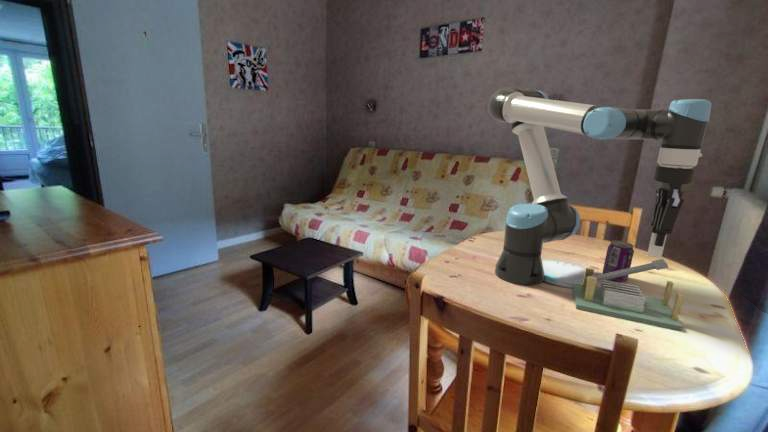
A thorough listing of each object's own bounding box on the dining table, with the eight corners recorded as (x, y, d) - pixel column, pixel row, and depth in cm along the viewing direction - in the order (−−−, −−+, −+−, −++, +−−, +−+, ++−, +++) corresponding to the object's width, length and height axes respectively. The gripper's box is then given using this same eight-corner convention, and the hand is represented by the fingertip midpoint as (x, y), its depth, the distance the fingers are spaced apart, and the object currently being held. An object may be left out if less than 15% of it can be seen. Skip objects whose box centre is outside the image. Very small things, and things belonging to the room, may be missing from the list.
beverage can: (631, 283, 110) (639, 248, 107) (607, 281, 111) (614, 246, 108) (621, 274, 116) (628, 241, 113) (598, 272, 118) (605, 239, 115)
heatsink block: (602, 305, 94) (605, 291, 93) (598, 291, 102) (601, 278, 101) (642, 313, 90) (646, 299, 89) (635, 298, 98) (638, 285, 97)
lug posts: (584, 301, 95) (588, 278, 94) (581, 287, 103) (585, 266, 102) (676, 320, 87) (683, 295, 85) (666, 303, 95) (672, 280, 93)
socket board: (575, 308, 94) (576, 304, 94) (572, 285, 107) (573, 282, 107) (680, 330, 85) (682, 326, 84) (663, 303, 98) (664, 299, 98)
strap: (588, 286, 96) (586, 280, 96) (587, 280, 100) (584, 275, 100) (669, 268, 87) (666, 263, 87) (664, 263, 91) (662, 257, 91)
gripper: (706, 170, 76) (680, 268, 83) (686, 164, 88) (664, 250, 94) (664, 167, 79) (642, 262, 86) (650, 162, 91) (631, 246, 97)
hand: (654, 256), depth 90 cm, fingers closed
